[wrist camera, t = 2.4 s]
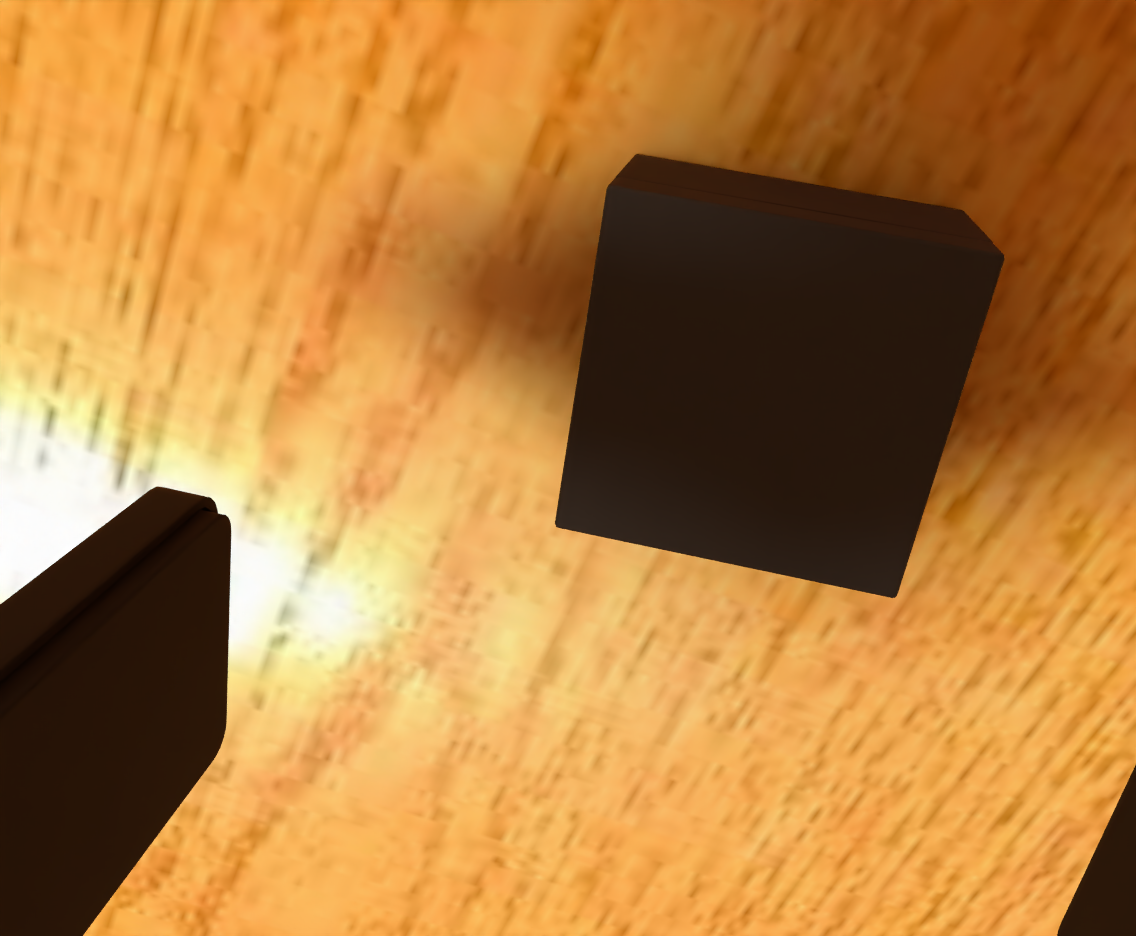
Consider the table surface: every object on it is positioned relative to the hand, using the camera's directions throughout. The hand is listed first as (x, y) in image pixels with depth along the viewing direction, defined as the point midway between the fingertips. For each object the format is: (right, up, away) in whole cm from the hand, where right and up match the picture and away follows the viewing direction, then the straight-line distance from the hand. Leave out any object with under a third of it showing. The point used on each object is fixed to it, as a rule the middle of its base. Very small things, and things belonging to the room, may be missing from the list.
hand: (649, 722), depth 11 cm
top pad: (+3, +5, +11) cm, 13 cm away
